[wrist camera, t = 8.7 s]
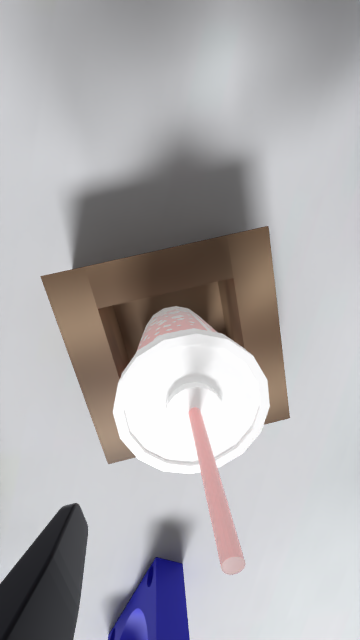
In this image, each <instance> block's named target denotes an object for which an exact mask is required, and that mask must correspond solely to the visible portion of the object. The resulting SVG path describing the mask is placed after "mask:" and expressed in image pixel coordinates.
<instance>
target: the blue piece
mask: <svg viewBox="0 0 360 640" xmlns="http://www.w3.org/2000/svg"><path fill="white" fill-rule="evenodd" d="M108 640H189V629H188V618H187V607H186V596H185V585H184V575H183V564H182V563H178V562H174V561H170V560H166V559H162V558H158V557H156V558H155V559H154V561H153V563H152V564H151V566H150V568H149V569H148V571H147V572H146V574H145V576H144V577H143V579H142V581H141V582H140V584H139V586H138V587H137V589H136V591H135V592H134V594H133V596H132V597H131V599H130V600H129V602H128V604H127V605H126V607H125V609H124V610H123V612H122V614H121V615H120V617H119V619H118V620H117V622H116V624H115V625H114V627H113V628H112V630H111V632H110V633H109V636H108Z"/></svg>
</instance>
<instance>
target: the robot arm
mask: <svg viewBox="0 0 360 640" xmlns="http://www.w3.org/2000/svg"><path fill="white" fill-rule="evenodd" d="M87 537H88V525H87V522H86V520H85V517H84V515H83V512H82V510H81V508H80V506H79V504H77V503H74V504H70V505H66V506H63V507H62V508H61V509H60V510H59V511H58V512H57V514H56V515H55V516H54V517H53V519H52V520H51V521H50V522H49V524H48V525H47V526H46V527H45V529H44V530H43V531H42V532H41V534H40V535H39V536H38V537H37V539H36V540H35V541H34V542H33V544H32V545H31V546H30V547H29V549H28V550H27V551H26V552H25V554H24V555H23V556H22V557H21V559H20V560H19V561H18V562H17V564H16V565H15V566H14V567H13V569H12V570H11V571H10V572H9V574H8V575H7V576H6V577H5V579H4V580H3V581H2V582H1V584H0V640H73V638H74V633H75V628H76V622H77V617H78V611H79V604H80V597H81V589H82V580H83V572H84V563H85V555H86V546H87Z"/></svg>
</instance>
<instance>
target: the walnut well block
mask: <svg viewBox="0 0 360 640" xmlns="http://www.w3.org/2000/svg"><path fill="white" fill-rule="evenodd" d="M41 279H42V282H43V285H44V287H45V290H46V293H47V296H48V299H49V301H50V304H51V307H52V310H53V312H54V315H55V318H56V321H57V323H58V326H59V329H60V332H61V335H62V337H63V340H64V343H65V346H66V348H67V351H68V354H69V357H70V360H71V362H72V365H73V368H74V371H75V373H76V376H77V379H78V382H79V385H80V387H81V390H82V393H83V396H84V398H85V401H86V404H87V407H88V409H89V412H90V415H91V418H92V421H93V423H94V426H95V429H96V432H97V434H98V437H99V440H100V443H101V446H102V448H103V451H104V454H105V457H106V459H107V462H108V464H111V463H115V462H119V461H123V460H127V459H131V458H135V457H136V456H135V455H134V454H133V453H132V452H131V450H130V449H129V448H128V447H127V446H126V445H125V444H124V442H123V441H122V440H121V439H120V436H119V433H118V429H117V426H116V422H115V418H114V415H113V408H114V402H115V397H116V392H117V386H118V382H119V379H120V378H121V374H122V373H123V371H124V370H125V368H126V367H127V365H128V364H129V363H130V361H131V360H132V358H133V357H134V355H135V354H136V351H137V349H138V346H139V343H140V341H141V338H142V335H143V333H144V330H145V327H146V325H147V323H148V322H149V321H150V319H151V318H152V316H153V315H154V314H156V313H157V312H159V311H161V310H162V309H164V308H169V307H174V306H178V307H183V308H188V309H190V310H191V311H193V312H194V313H195V314H197V315H198V316H200V317H201V318H202V319H203V320H204V321H205V322H206V323H207V324H209V325H210V326H211V327H212V328H213V329H214V330H215V331H216V332H218V333H222V334H224V335H225V336H227V337H228V338H230V339H231V340H233V341H234V342H236V343H237V344H239V345H240V346H242V347H243V348H244V349H246V351H248V352H249V353H251V354H252V355H253V356H254V358H255V360H256V361H257V363H258V365H259V367H260V368H261V370H262V372H263V373H264V375H265V377H266V378H267V381H268V392H269V403H270V407H269V410H268V413H267V416H266V419H265V422H264V424H268V423H272V422H276V421H280V420H284V419H288V418H290V415H289V406H288V397H287V388H286V379H285V370H284V362H283V353H282V344H281V335H280V326H279V317H278V308H277V299H276V290H275V281H274V272H273V263H272V254H271V245H270V236H269V228H268V226H266V227H261V228H257V229H252V230H248V231H243V232H239V233H234V234H230V235H225V236H221V237H216V238H212V239H207V240H203V241H198V242H194V243H189V244H185V245H180V246H176V247H171V248H167V249H162V250H158V251H153V252H149V253H144V254H139V255H135V256H130V257H126V258H121V259H117V260H112V261H108V262H103V263H99V264H94V265H90V266H85V267H81V268H76V269H72V270H67V271H63V272H58V273H54V274H49V275H45V276H41Z"/></svg>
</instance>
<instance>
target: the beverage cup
mask: <svg viewBox="0 0 360 640" xmlns="http://www.w3.org/2000/svg"><path fill="white" fill-rule="evenodd" d="M269 407H270V403H269V392H268V381H267V378H266V377H265V375H264V373H263V372H262V370H261V368H260V367H259V365H258V363H257V361H256V360H255V358H254V356H253V355H252V354H251V353H249V352H248V351H246V349H244V348H243V347H242V346H240V345H239V344H237V343H236V342H234V341H233V340H231V339H230V338H228V337H227V336H225V335H224V334H222V333H218V332H216V331H215V330H214V329H213V328H212V327H211V326H210V325H209V324H207V323H206V322H205V321H204V320H203V319H202V318H201V317H200V316H198V315H197V314H195V313H194V312H193V311H191V310H190V309H188V308H183V307H178V306H174V307H169V308H164V309H162V310H161V311H159V312H157V313H156V314H154V315H153V316H152V318H151V319H150V321H149V322H148V323H147V325H146V327H145V330H144V333H143V335H142V338H141V341H140V343H139V346H138V349H137V351H136V354H135V355H134V357H133V358H132V360H131V361H130V363H129V364H128V365H127V367H126V368H125V370H124V371H123V373H122V374H121V378H120V379H119V382H118V386H117V392H116V397H115V402H114V408H113V415H114V418H115V422H116V426H117V429H118V433H119V436H120V439H121V440H122V441H123V442H124V444H125V445H126V446H127V447H128V448H129V449H130V450H131V452H132V453H133V454H134V455H135V456H136V457H137V459H139V460H141V461H143V462H145V463H147V464H149V465H151V466H153V467H155V468H157V469H159V470H161V471H166V472H176V473H185V474H193V473H198V472H201V475H202V479H203V484H204V489H205V494H206V498H207V503H208V508H209V512H210V517H211V522H212V527H213V531H214V536H215V541H216V545H217V550H218V555H219V559H220V564H221V569H222V571H223V572H224V573H225V574H229V575H233V574H237V573H239V572H241V571H242V570H243V569H244V567H245V560H244V557H243V553H242V550H241V546H240V543H239V540H238V536H237V533H236V530H235V526H234V523H233V519H232V516H231V513H230V509H229V506H228V502H227V499H226V496H225V492H224V489H223V485H222V482H221V479H220V475H219V472H218V468H219V467H221V466H223V465H224V464H226V463H228V462H229V461H231V460H233V459H234V458H236V457H238V456H239V455H241V454H243V453H244V452H245V451H246V449H247V448H248V447H249V446H250V445H251V443H252V442H253V441H254V440H255V439H256V437H257V436H258V435H259V434H260V433H261V431H262V428H263V425H264V422H265V419H266V416H267V413H268V410H269Z"/></svg>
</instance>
